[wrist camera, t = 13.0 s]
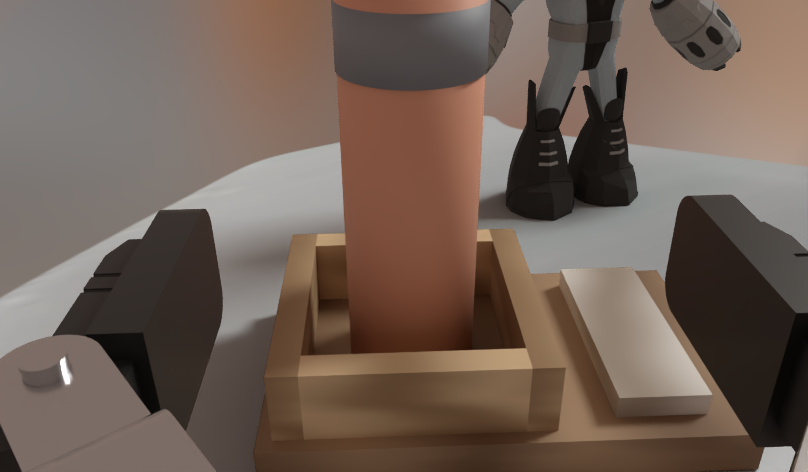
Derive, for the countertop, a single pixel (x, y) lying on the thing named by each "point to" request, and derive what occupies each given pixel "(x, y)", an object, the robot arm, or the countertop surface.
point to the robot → (593, 98)
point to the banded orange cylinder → (411, 167)
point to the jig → (495, 378)
